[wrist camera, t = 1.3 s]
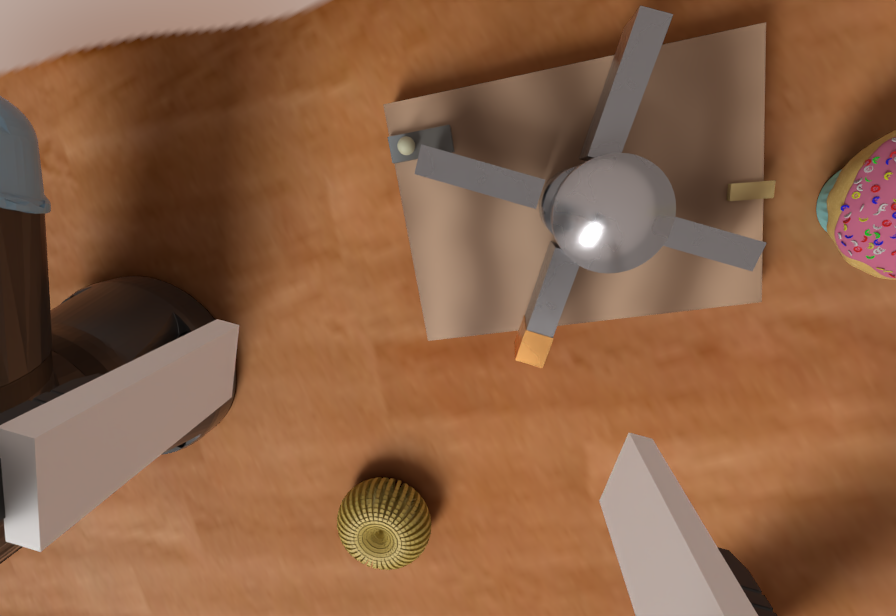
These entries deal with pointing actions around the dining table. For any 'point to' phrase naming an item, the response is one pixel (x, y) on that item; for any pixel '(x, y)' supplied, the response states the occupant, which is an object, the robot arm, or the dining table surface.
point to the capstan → (597, 196)
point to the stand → (558, 148)
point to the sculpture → (384, 523)
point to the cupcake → (864, 209)
